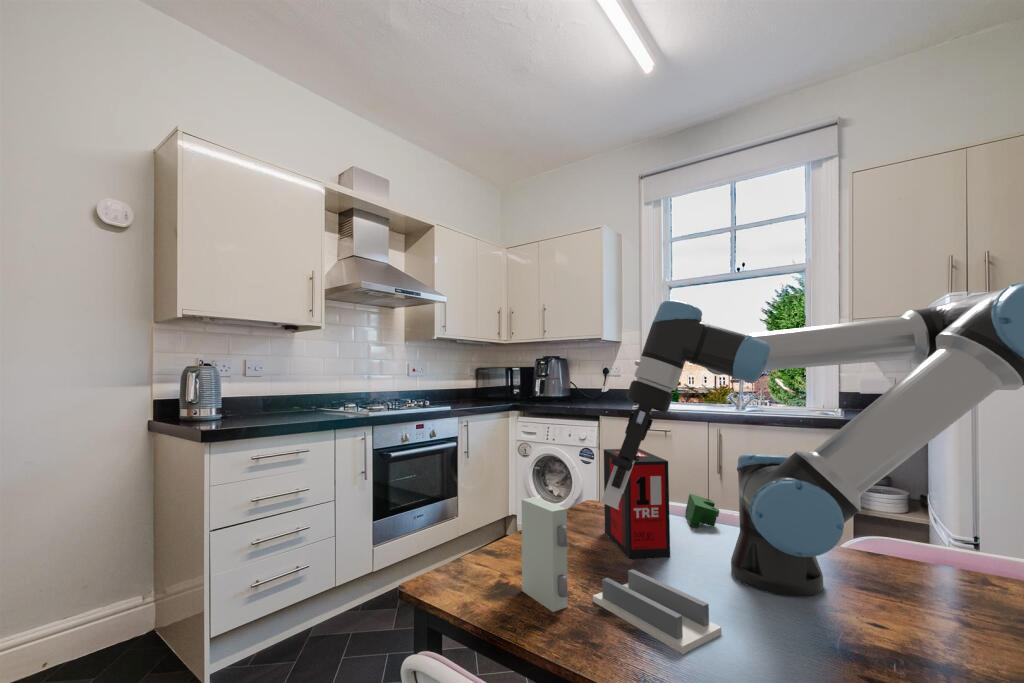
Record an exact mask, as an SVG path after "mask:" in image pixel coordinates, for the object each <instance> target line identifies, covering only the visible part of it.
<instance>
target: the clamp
mask: <svg viewBox="0 0 1024 683" xmlns="http://www.w3.org/2000/svg"><path fill="white" fill-rule="evenodd" d="M715 504H716V503H715V502H714V501H713V500H711V499H709V498H706V497H702V496H699V495H697V494H696V495H695V494H693V493H689V495H688V498H687V503H686V507H685V511H684V514H685V517H686V520H687V523H688V525H689V526H690V527H691V526H692V527H694V528H698V527H699V528H700V526H701V524H703V525H708V526H709V527H715V525H716V521H717V517H719V514H720V509H719V508H717V507H715Z"/></svg>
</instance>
